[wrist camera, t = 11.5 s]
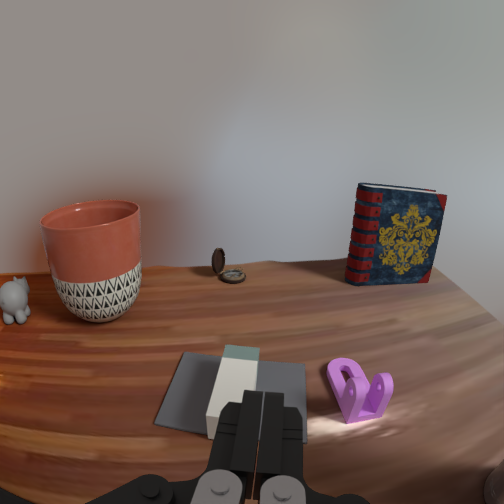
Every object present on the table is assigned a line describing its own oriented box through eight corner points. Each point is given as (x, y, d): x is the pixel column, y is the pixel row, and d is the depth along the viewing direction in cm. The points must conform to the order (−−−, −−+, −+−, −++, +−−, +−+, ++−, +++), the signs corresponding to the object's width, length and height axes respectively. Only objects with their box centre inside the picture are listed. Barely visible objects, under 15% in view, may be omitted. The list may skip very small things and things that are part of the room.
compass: (241, 286, 75) (241, 257, 73) (210, 280, 78) (209, 252, 75) (252, 272, 82) (253, 246, 80) (223, 267, 85) (223, 241, 82)
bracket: (381, 417, 39) (396, 384, 36) (346, 424, 38) (358, 391, 36) (352, 362, 51) (361, 329, 48) (322, 365, 50) (329, 332, 48)
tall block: (247, 443, 35) (257, 372, 48) (248, 420, 33) (259, 347, 46) (208, 438, 35) (226, 368, 48) (205, 415, 33) (225, 344, 46)
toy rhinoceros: (43, 299, 63) (35, 266, 60) (26, 327, 52) (14, 291, 49) (20, 299, 61) (11, 266, 58) (0, 326, 51) (-12, 291, 47)
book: (349, 287, 76) (364, 186, 67) (340, 274, 83) (352, 181, 73) (429, 283, 79) (448, 195, 69) (417, 272, 85) (434, 189, 76)
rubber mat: (304, 365, 50) (304, 363, 50) (306, 443, 35) (307, 442, 35) (184, 353, 52) (184, 351, 51) (154, 424, 37) (154, 423, 37)
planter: (109, 354, 49) (85, 235, 41) (44, 322, 55) (21, 222, 47) (167, 303, 66) (160, 203, 58) (102, 284, 72) (90, 197, 64)
